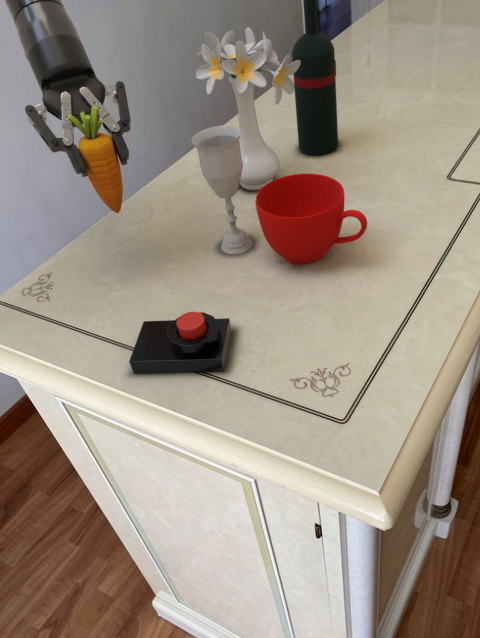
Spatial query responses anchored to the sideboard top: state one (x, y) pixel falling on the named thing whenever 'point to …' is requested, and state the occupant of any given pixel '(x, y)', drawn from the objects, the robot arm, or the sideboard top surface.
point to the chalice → (223, 176)
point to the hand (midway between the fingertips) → (105, 167)
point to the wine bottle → (315, 88)
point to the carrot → (100, 160)
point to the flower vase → (248, 94)
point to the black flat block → (181, 348)
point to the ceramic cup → (304, 216)
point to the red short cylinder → (191, 325)
